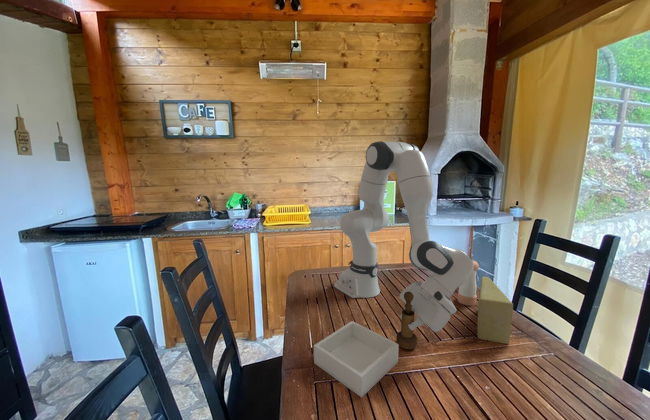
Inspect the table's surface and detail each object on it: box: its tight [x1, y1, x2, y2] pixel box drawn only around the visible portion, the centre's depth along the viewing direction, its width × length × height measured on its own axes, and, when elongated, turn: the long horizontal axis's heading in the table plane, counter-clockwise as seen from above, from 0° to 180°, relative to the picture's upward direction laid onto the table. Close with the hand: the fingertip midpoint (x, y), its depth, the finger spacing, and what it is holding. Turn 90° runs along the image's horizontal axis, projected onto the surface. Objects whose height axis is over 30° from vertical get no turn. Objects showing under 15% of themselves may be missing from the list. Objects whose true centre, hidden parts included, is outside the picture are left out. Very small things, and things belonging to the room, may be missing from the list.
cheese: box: [476, 276, 514, 345], centre depth 102 cm, size 22×10×15 cm, turn 159°
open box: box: [313, 320, 400, 398], centre depth 84 cm, size 18×18×6 cm
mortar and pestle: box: [396, 292, 418, 350], centre depth 91 cm, size 7×6×18 cm
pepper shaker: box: [456, 259, 480, 307], centre depth 118 cm, size 7×7×19 cm
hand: (405, 323), depth 91 cm, fingers closed on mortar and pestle, 4 cm apart
